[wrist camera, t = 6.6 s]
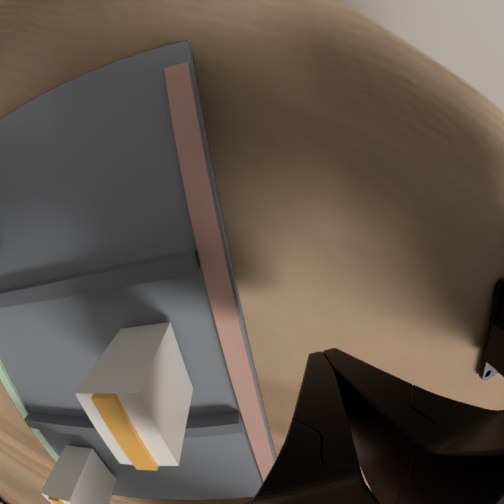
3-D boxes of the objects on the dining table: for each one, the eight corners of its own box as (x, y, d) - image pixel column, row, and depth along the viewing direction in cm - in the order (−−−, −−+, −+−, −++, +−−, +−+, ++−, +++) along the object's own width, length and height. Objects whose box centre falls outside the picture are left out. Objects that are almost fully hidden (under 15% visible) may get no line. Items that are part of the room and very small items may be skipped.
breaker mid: (170, 321, 10) (136, 397, 6) (193, 388, 11) (177, 470, 7) (120, 328, 10) (71, 397, 6) (147, 391, 11) (118, 468, 7)
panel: (191, 51, 9) (184, 30, 7) (282, 480, 14) (285, 502, 12) (-46, 163, 9) (-68, 164, 7) (85, 479, 14) (78, 496, 12)
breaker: (92, 448, 12) (67, 504, 8) (116, 479, 12) (99, 531, 8) (65, 445, 12) (39, 495, 8) (90, 475, 12) (71, 524, 8)
